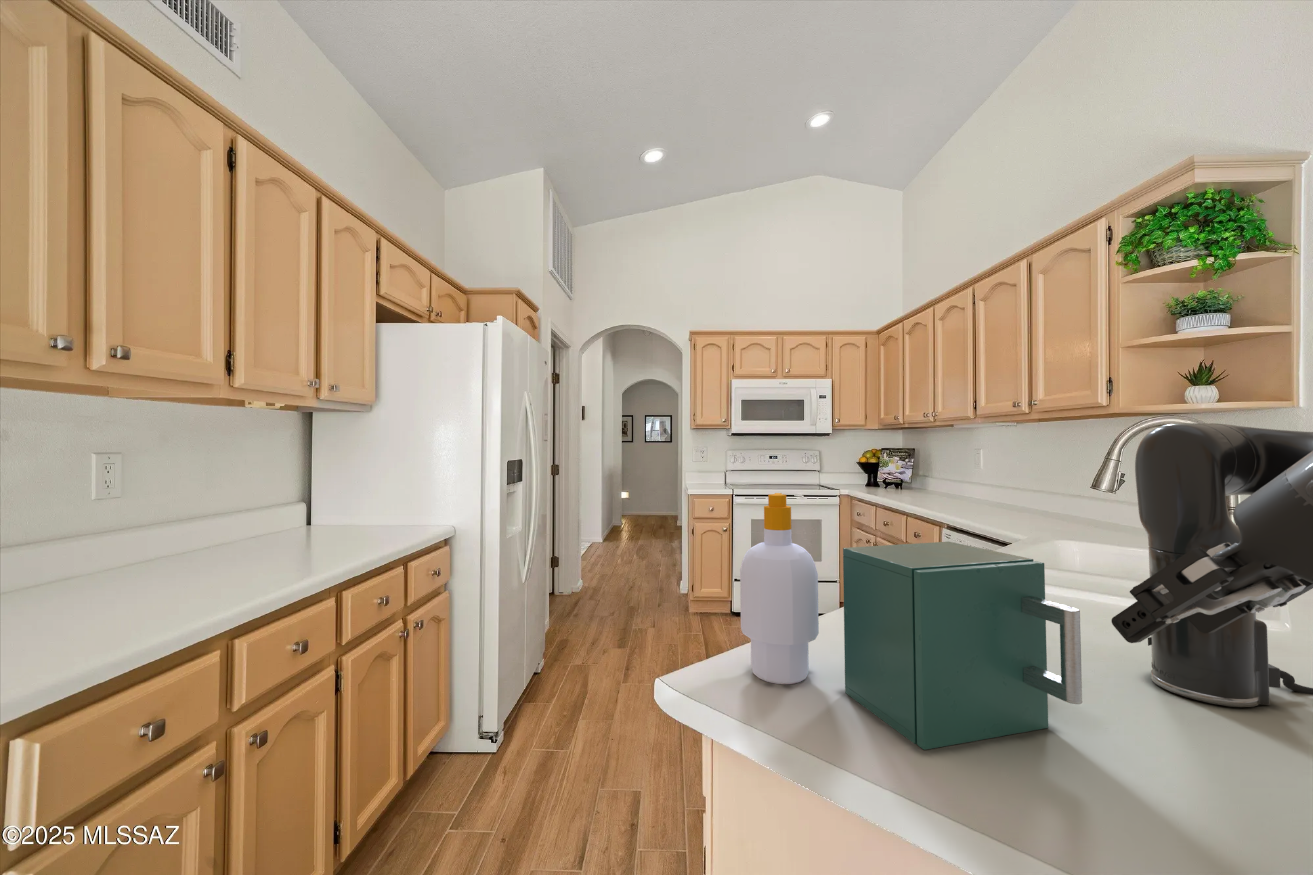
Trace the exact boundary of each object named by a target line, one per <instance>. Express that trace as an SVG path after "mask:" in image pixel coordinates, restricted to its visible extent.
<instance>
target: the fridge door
mask: <svg viewBox="0 0 1313 875" xmlns="http://www.w3.org/2000/svg"><path fill="white" fill-rule="evenodd" d="M1045 570H1046V569H1045V562H1042V561H1037V560H1034V561H1031V562H1018V563H1005V564H992V565H978V566H965V567H952V568H939V569H925V570H914V606H915V660H916V714H917V744H916V745H917V746H918V747H919V748H921V749H922V750H923V751H926V750H931V749H938V748H944V747H949V746H955V745H961V744H965V743H966V744H967V743H971V742H977V741H983V740H989V739H994V738H1000V737H1005V736H1011V735H1016V734H1021V733H1027V732H1034V731H1038V730H1045V729H1049V700H1048V699H1049V698H1048V696H1049V695H1050V696H1052V697H1055V698H1056V699H1058V700H1061V701H1063V702H1065V703H1068V704H1071V705H1081V704H1083V680H1082V679H1083V678H1082V676H1083V675H1082V642H1081V641H1082V640H1081V610H1080V609H1079V608H1076V607H1073V606H1069V605H1066V604H1062V603H1058V602H1055V601H1051V600H1048V599H1046V578H1045V574H1046V573H1045ZM1047 621H1048V622H1051V623H1054V624H1057V625H1059V643H1060V644H1059V646H1060V647H1059V648H1060V650H1059V651H1060V652H1059V653H1060V675H1058V674H1056V673H1053V672H1050V671H1048V658H1047V657H1048V656H1047V653H1048V652H1047V650H1048V649H1047Z"/></svg>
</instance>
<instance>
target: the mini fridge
mask: <svg viewBox="0 0 1313 875" xmlns="http://www.w3.org/2000/svg"><path fill="white" fill-rule="evenodd" d="M1031 561H1035V560H1034V559H1033V558H1030V557H1024V556H1020V555H1015V554H1011V553H1005V552H1001V551H996V550H991V549H986V548H981V547H976V546H972V545H967V544H963V543H958V542H953V541H936V542H935V541H933V542H918V543H917V542H916V543H901V544H900V543H899V544H887V545H886V544H885V545H869V546H868V545H867V546H866V545H865V546H853V547H852V546H849V547H842V571H843V572H842V573H843V574H842V575H843V582H842V583H843V584H842V585H843V640H844V641H843V642H844V644H843V646H844V647H843V648H844V649H843V650H844V693H845V694H846V695H848V697H850V698H852V700H854V701H855V702H857V703H858V704H859V705H861V706H862V707H863V708H865V709H867V710H868V711H869V712H870V713H872V714H873V715H874V716H876V717H878V719H880V720H881V721H883V722H884V723H885V724H887V725H888V726H889V727H891V728H892V729H893V730H895V731H896V732H897V733H899V734H900V735H902V736H903V737H905V738H906V739H907V740H908V741H909V742H911V743H913V744H914V745H917V714H916V660H915V606H914V570H925V569H939V568H952V567H965V566H978V565H992V564H1005V563H1018V562H1031Z"/></svg>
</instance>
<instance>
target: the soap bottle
mask: <svg viewBox="0 0 1313 875" xmlns="http://www.w3.org/2000/svg"><path fill="white" fill-rule="evenodd" d="M767 499H768V501H767V502H768V505H764V506H763V542H759V543H757V544H755V545H753V546H751V547H750V548H748V550H746V552H745V554H744V556H743V558H742V560H741V565H740V569H739V579H740V580H739V584H740V585H739V588H740V590H739V596H740V598H739V600H740V601H739V602H740V629H741V633H742V634H743V635H744V636H746V637H747V638H749V639H750V667H751V671H752V674H754V675H755V676H756V677H757V678H758V679H760V680H762V681H764V682H767V683H770V684H776V685H792V684H793V685H794V684H798V683H801V682H803V681H804V680H806V679H807V677H808V676H809V672H810V668H809V667H810V666H809V662H810V660H809V643H810V642H812V641H813V642H814V641H816V639H817V637H818V636H819V634H820V632H819V622H820V621H819V574H818V573H819V572H818V569H817V566H816V562H815V561H814V558H813V556H812V555H811V553H809V551H807V549H805V547H802V546H801V545H799V544H797V543H794V542H793V539H792V535H793V534H792V532H793V531H792V506H791V505H787V494H783V493H782V492H775V493H769V494H768V497H767Z"/></svg>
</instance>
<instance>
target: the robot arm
mask: <svg viewBox="0 0 1313 875" xmlns="http://www.w3.org/2000/svg"><path fill="white" fill-rule="evenodd" d="M1134 474H1135V476H1134V477H1135V484H1136V485H1135V488H1136V496H1137V506H1138V507H1137V509H1138V510H1137V511H1138V516H1139V521H1140V523H1141V526H1142V527H1143V529H1144V531H1145V534H1146V535H1147V540H1148V542H1147V543H1148V569H1149V570H1148V573H1149V577H1148V578H1147V579H1145V580H1143V581H1142V582H1141V583H1139V584H1137V585H1135V586H1133V587H1132V588H1131V590H1129V594H1130V595H1131V596H1132V597H1133V598H1134V599H1135V600H1136V601H1135V602H1134V603H1132V604H1131V605H1129V606H1128V607H1126V608H1125V609H1123V610H1122V611H1120V612H1118V613H1117V614H1115V616H1113V617H1112V618H1111V624H1112V626H1113V627H1114V628H1115V630H1116V631H1117V632H1118V633H1119V634H1120V636H1121V637H1122V639H1124V640H1125V641H1126V642H1127V643H1129V644H1138V643H1141V642H1143V641H1144V640H1146V639H1147V646H1148V647H1149V646H1151V670H1150V673H1151V674H1150V676H1151V681H1152V682H1153V683H1154V684H1156V685H1157V686H1158V687H1160V688H1162V689H1164V690H1166V691H1168V692H1171V693H1173V694H1175V695H1178V696H1181V697H1184V698H1187V699H1191V700H1194V701H1199V702H1202V703H1203V702H1204V703H1207V704H1212V705H1216V706H1217V705H1218V706H1223V707H1231V708H1232V707H1234V708H1254V707H1257V706H1259V705H1265V706H1270V705H1271V699H1270V688H1277V689H1281V683H1282V684H1283V686H1284V687H1285V688H1286V689H1288V690H1291V691H1293V692H1296V693H1300V694H1307V695H1313V687H1309V686H1305V685H1301V684H1298V683H1296V680H1295V677H1294V676H1293V675H1292V674H1291V673H1289V672H1287V671H1285V670H1282V669H1281V668H1279V667H1277V666H1275V665H1272V664H1270V663H1269V647H1268V646H1269V645H1268V643H1269V641H1268V640H1269V639H1268V625H1267V624H1266V622H1265V621H1263V620H1261V619H1257V613H1262V612H1264V611H1265V610H1266V609H1268V608H1271V607H1272V608H1278V607H1280V608H1282V607H1285V606H1286V605H1288V603H1290V602H1292V601H1294V600H1295V599H1297V598H1298V597H1300V596H1302V595H1305V593H1307V592H1309V591H1311V590H1313V431H1303V430H1302V431H1301V430H1287V429H1286V430H1285V429H1273V428H1262V427H1254V426H1253V427H1252V426H1244V425H1243V426H1241V425H1234V424H1227V423H1214V422H1212V423H1211V422H1210V423H1208V422H1205V423H1204V422H1203V423H1201V422H1200V423H1199V422H1194V423H1193V422H1192V423H1191V422H1188V423H1187V422H1186V423H1185V422H1184V423H1180V422H1179V423H1178V422H1177V423H1168V424H1164V425H1160V426H1158V427H1156V428H1154V429H1152V430H1150V431H1149V432H1148V433H1146V434H1145V435H1144V436H1143V438H1142V439H1141V441H1140V442H1139V444H1138V447H1137V449H1136V453H1135V460H1134ZM1229 496H1230V497H1231V496H1248V497H1246V498H1244V499H1243V500H1242V501H1240V502H1239V503H1238V504H1236V506H1235V507H1234V508H1233V512H1232V517H1233V520H1232V518H1231V517H1230V515H1229V510H1228V502H1227V497H1229ZM1281 680H1282V682H1281Z"/></svg>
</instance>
